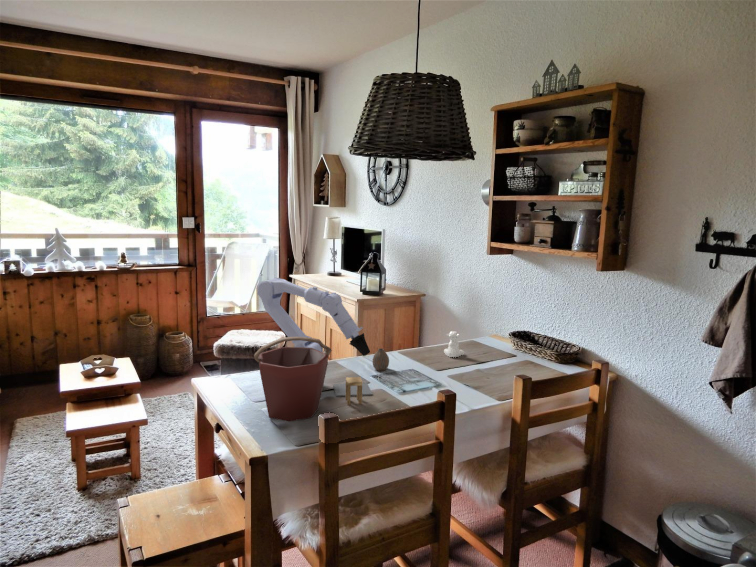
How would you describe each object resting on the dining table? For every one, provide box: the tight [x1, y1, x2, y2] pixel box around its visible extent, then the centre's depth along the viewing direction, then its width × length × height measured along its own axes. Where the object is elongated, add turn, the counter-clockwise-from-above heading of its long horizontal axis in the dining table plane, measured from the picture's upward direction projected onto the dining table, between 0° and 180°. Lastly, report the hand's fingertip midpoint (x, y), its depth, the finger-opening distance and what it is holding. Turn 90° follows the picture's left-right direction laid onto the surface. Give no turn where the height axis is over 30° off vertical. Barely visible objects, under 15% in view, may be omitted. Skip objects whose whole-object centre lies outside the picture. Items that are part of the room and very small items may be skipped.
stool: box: [345, 376, 363, 406], centre depth 177 cm, size 5×5×8 cm
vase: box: [372, 348, 390, 372], centre depth 211 cm, size 7×7×9 cm
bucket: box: [253, 336, 332, 423], centre depth 166 cm, size 24×22×25 cm
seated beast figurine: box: [443, 330, 466, 359], centre depth 233 cm, size 10×9×12 cm
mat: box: [332, 382, 373, 398], centre depth 188 cm, size 13×11×1 cm
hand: (367, 354), depth 183 cm, fingers open, 7 cm apart
